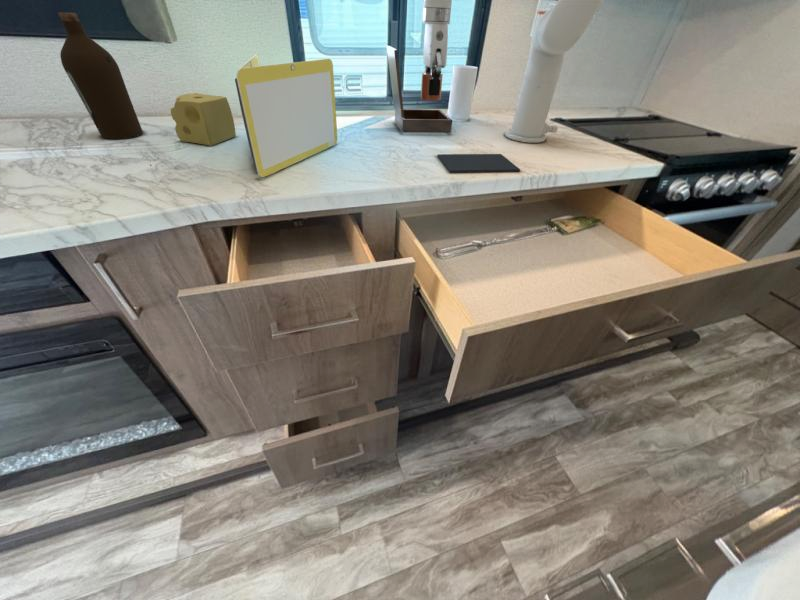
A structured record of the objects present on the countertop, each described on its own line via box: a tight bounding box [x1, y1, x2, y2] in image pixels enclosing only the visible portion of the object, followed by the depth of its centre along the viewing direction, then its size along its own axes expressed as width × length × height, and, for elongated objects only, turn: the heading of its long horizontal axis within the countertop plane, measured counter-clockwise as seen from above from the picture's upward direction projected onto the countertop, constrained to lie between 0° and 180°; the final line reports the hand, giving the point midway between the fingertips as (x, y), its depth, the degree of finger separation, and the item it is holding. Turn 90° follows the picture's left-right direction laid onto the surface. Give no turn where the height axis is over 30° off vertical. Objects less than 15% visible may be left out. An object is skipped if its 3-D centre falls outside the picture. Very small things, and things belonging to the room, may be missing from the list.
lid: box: [386, 45, 404, 118], centre depth 100 cm, size 16×15×1 cm
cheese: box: [170, 92, 237, 147], centre depth 87 cm, size 10×11×10 cm
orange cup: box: [420, 72, 444, 102], centre depth 102 cm, size 6×6×6 cm
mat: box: [437, 153, 521, 174], centre depth 85 cm, size 18×12×1 cm, turn 100°
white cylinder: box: [446, 64, 478, 121], centre depth 117 cm, size 8×8×16 cm
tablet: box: [234, 53, 338, 178], centre depth 78 cm, size 35×22×20 cm, turn 14°
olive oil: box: [57, 12, 144, 140], centre depth 82 cm, size 11×11×25 cm
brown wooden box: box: [394, 108, 453, 134], centre depth 108 cm, size 16×15×4 cm
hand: (431, 92), depth 103 cm, fingers closed on orange cup, 6 cm apart
